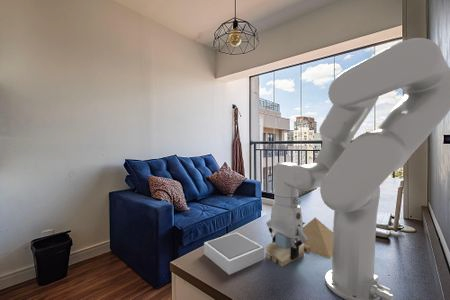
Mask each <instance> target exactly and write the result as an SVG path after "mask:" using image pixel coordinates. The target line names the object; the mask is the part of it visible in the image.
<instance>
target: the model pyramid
mask: <svg viewBox="0 0 450 300" xmlns="http://www.w3.org/2000/svg"><path fill="white" fill-rule="evenodd" d="M303 232H304V233H305V235H306V236H307V238H308V240H307V241H306V242H304V243H303V244H304V251H306V252H307V253H310V252H311V253H313V254H316V255H318V256H322V257H325V258H326V259H327V258H328V259H332V250H333V230H331V229H330V228H328V226H326V225H325V224H324V223H322V222H321V221H320V220H319V219H318V218H317V217H314V218H313V219H312V220H310V221H309V222H308V223H307V224H305V225H304V226H303ZM298 237H299V240H300V239H301V237H300V236H298Z"/></svg>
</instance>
